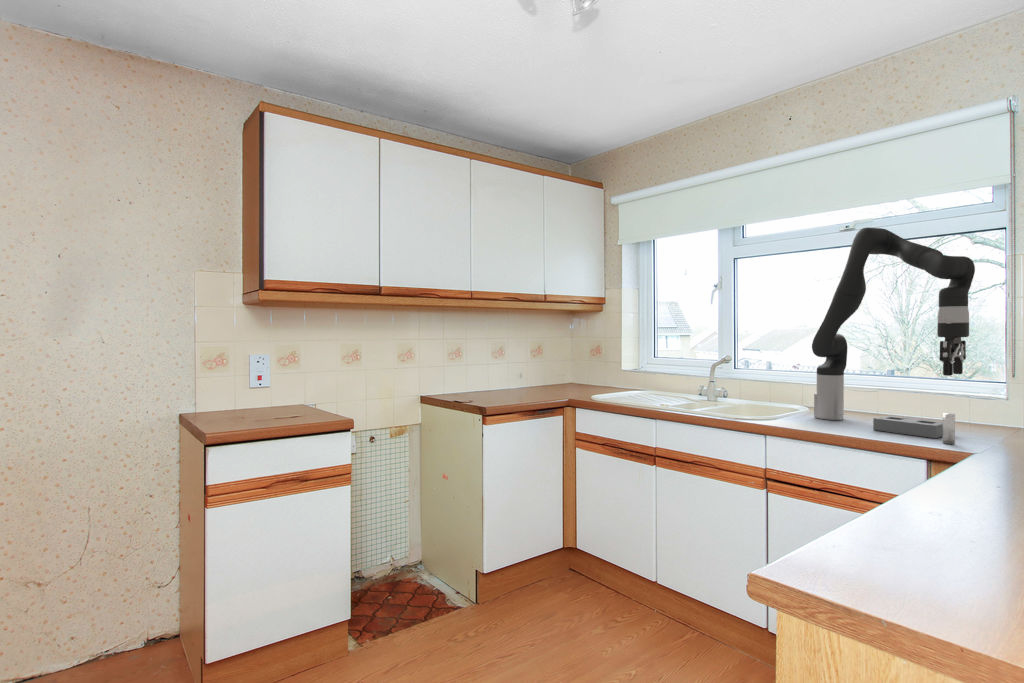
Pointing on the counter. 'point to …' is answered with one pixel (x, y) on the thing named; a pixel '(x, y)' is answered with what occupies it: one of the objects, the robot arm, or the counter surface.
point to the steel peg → (948, 428)
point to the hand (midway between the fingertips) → (952, 374)
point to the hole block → (909, 426)
